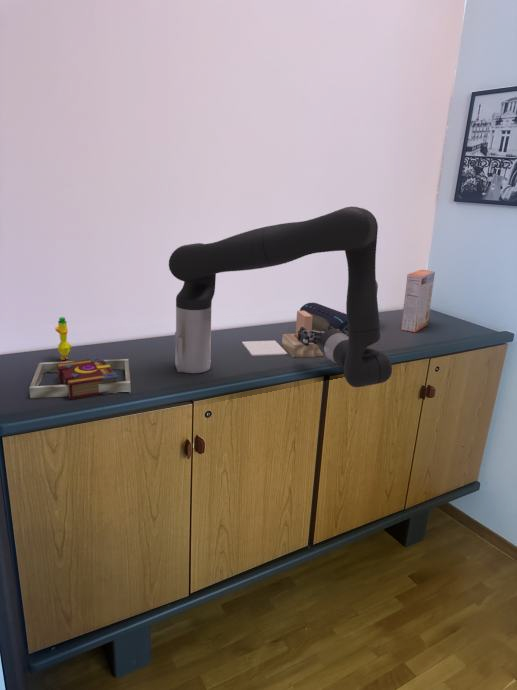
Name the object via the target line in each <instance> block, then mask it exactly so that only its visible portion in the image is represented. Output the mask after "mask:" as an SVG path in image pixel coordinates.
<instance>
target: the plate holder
mask: <svg viewBox="0 0 517 690" xmlns="http://www.w3.org/2000/svg"><path fill="white" fill-rule="evenodd" d="M295 334H296V333H282V339H281V340H282V341H281V347H282V348H283V349H284V350H285V351H286V352H287V353H288V354H289V355H290V356H291V357H292V358H293V357H296V358H314V357H317V356H318V357H323V356H324V354H323V353H322V352H321V351H320V349H319V347H318V345H315V344H312V343H309V346H305V345H303V344H302V343H301V342H299V341H298V340H297V338H296V337H295Z"/></svg>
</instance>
